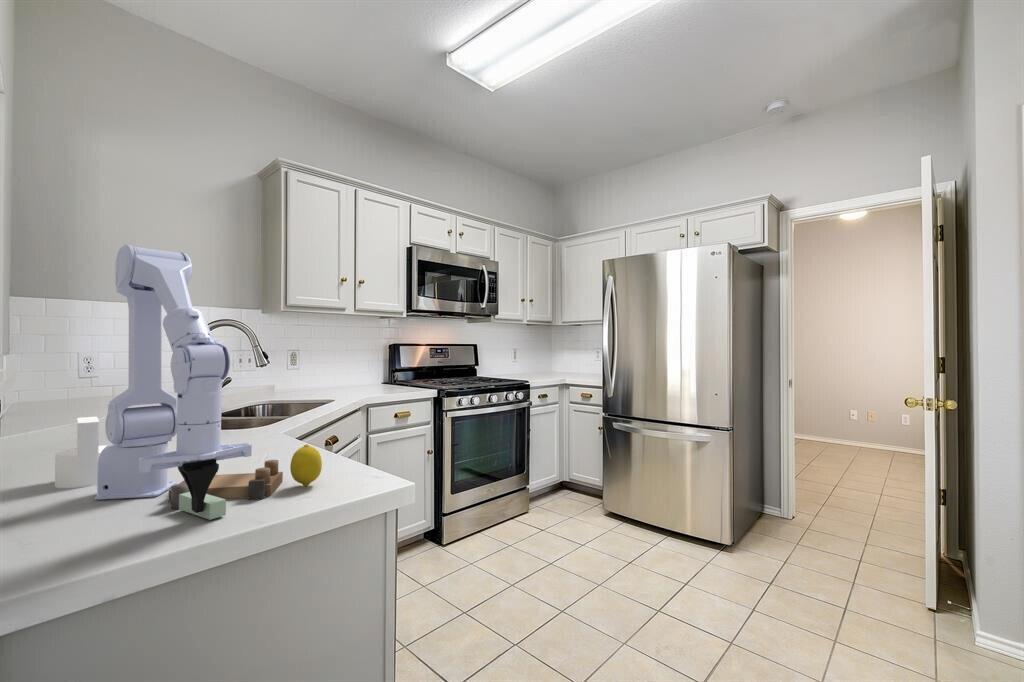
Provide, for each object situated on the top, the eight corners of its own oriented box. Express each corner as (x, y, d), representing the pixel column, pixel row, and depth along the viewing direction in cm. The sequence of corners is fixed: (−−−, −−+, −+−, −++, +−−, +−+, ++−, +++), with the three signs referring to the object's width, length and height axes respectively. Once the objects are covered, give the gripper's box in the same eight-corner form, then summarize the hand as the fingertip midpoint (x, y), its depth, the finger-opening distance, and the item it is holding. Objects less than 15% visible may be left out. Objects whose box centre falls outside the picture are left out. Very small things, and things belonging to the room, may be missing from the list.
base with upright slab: (118, 481, 92) (119, 420, 92) (54, 491, 86) (55, 425, 86) (114, 472, 99) (116, 415, 99) (55, 480, 93) (56, 419, 93)
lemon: (326, 482, 93) (327, 442, 93) (312, 491, 88) (312, 448, 88) (300, 481, 94) (300, 441, 94) (283, 490, 88) (284, 447, 88)
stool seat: (155, 510, 77) (156, 482, 77) (190, 486, 90) (191, 462, 90) (263, 504, 80) (264, 477, 80) (282, 481, 93) (282, 459, 93)
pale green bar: (178, 509, 77) (179, 494, 77) (194, 504, 79) (195, 490, 79) (209, 519, 72) (210, 504, 72) (225, 514, 74) (226, 499, 74)
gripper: (148, 431, 65) (146, 531, 65) (260, 419, 76) (258, 504, 76) (135, 425, 69) (133, 518, 69) (242, 415, 80) (241, 495, 80)
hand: (197, 510), depth 73 cm, fingers closed, pressing on pale green bar
